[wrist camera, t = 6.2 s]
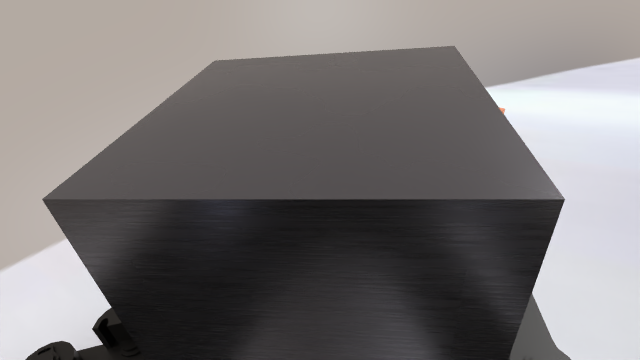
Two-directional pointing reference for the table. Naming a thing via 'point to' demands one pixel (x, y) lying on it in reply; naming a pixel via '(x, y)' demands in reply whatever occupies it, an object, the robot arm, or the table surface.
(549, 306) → the table surface
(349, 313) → the dark grey block
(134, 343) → the robot arm
